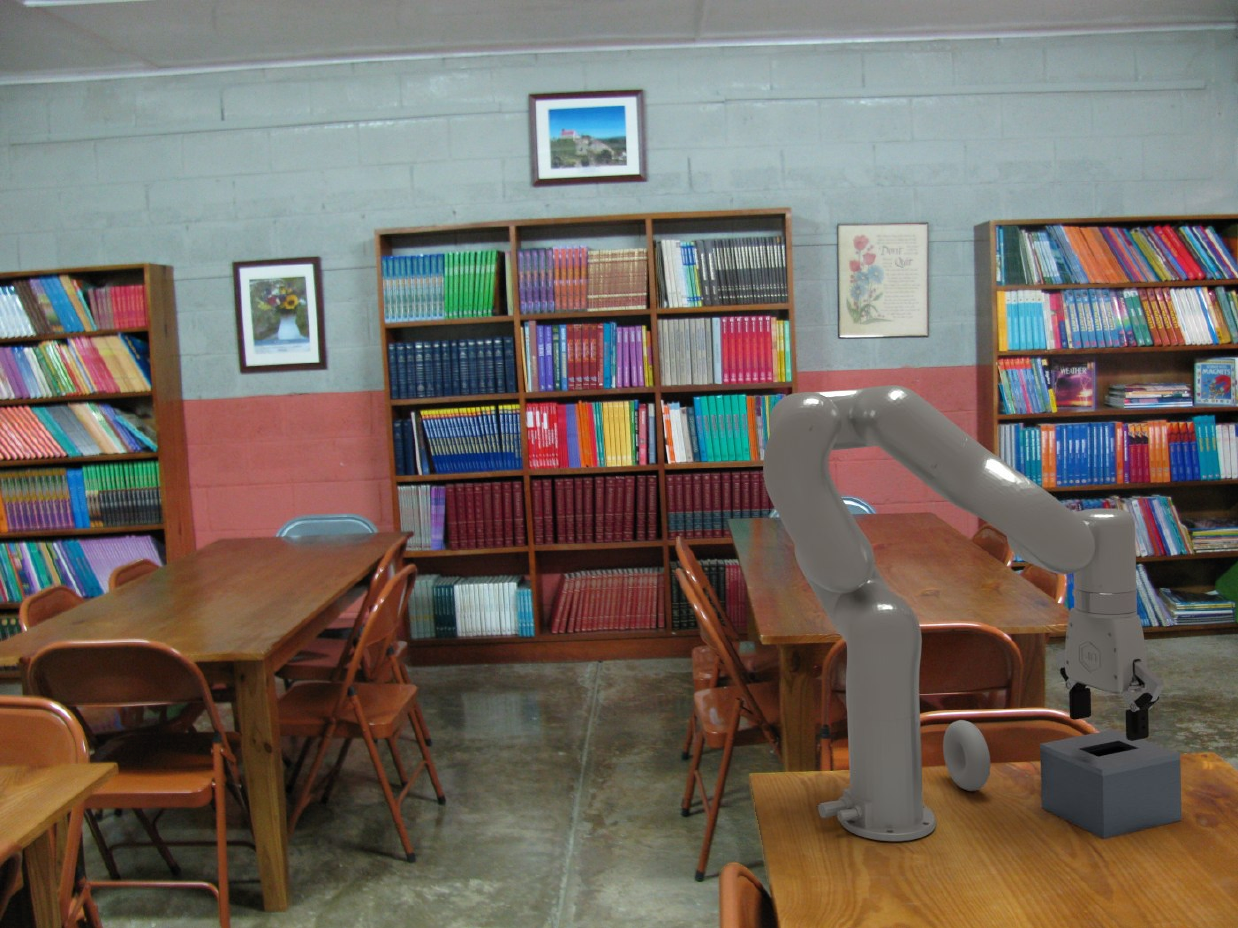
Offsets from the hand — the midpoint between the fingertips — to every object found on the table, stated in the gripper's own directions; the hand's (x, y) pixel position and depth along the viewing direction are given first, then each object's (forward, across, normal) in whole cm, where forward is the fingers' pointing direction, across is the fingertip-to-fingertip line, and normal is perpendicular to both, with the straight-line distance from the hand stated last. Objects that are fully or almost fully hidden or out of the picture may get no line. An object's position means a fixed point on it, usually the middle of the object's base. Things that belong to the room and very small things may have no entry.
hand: (1108, 728), depth 136 cm
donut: (+12, -16, -11) cm, 22 cm away
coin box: (+12, 0, 0) cm, 12 cm away
